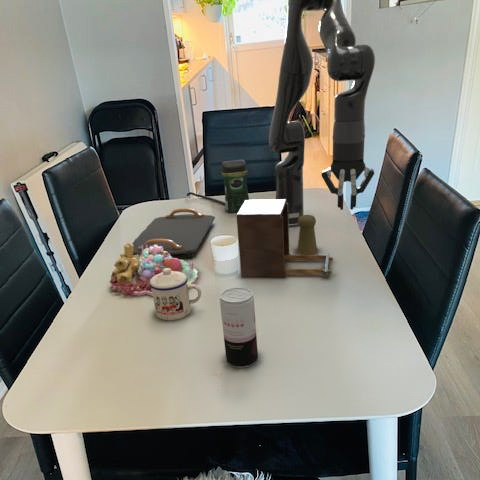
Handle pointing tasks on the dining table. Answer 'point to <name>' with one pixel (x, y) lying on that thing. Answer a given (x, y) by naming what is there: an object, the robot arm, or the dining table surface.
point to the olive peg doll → (307, 235)
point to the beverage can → (239, 326)
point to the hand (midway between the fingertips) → (346, 208)
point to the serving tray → (175, 232)
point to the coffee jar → (235, 184)
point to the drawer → (308, 258)
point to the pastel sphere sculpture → (146, 269)
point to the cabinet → (263, 238)
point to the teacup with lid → (172, 294)
